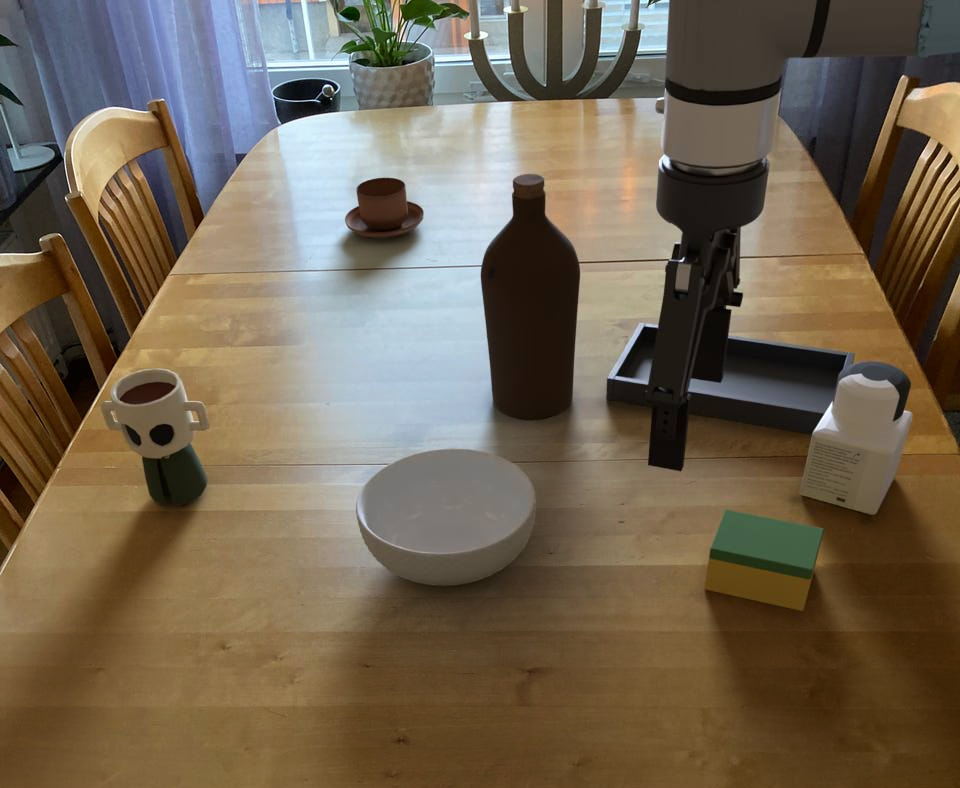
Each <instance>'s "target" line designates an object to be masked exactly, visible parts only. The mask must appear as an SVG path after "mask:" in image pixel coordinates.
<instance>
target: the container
mask: <svg viewBox="0 0 960 788" xmlns="http://www.w3.org/2000/svg"><path fill="white" fill-rule="evenodd" d="M911 388H912V382H911V380H910V377H909V376H908V375H907V373H906V372H905V371H903V370H902V369H901V368H899V367H898V366H895V365H893V364H889V363H886V362H881V361H875V360H873V361H872V360H871V361H869V360H865V361H864V360H863V361H858V362H853V364H851V365H849V366H847V367H846V368H844V369H843V370H842V371H841V372H840V373H839V376H838V380H837V384H836V389H835V393H834V397H833V401H832V403H831V404H830V406H829V408H828V409H827V411H826V412H825V414H824V416H823V417H822V419H821V420H820V422H819V424H818V425H817V427H816V428H815V430H814V432H813V434H811V437H810V438H811V439H810V443H809V448H808V453H807V458H806V462H805V466H804V470H803V475H802V480H801V484H800V489H799V494H800V495H801V496H803V497H805V498H809V499H813V500H817V501H821V502H825V503H828V504H831V505H834V506H839V507H843V508H846V509H849V510H852V511H856V512H859V513H863V514H867V515H870V516H874V515H876V514H877V513H878V511H879V509H880V508H881V505H882V503H883V501H884V499H885V497H886V495H887V493H888V491H889V490H890V487H891V485H892V483H893V481H894V480H895V477H896V475H897V472H898V469H899V467H900V466H899V465H900V462H901V459H902V456H903V452H904V449H905V445H906V442H907V439H908V435H909V432H910V428H911V425H912V421H913V419H914V413H912V412H911V411H908V410H905V408H906V405H907V401H908V398H909V394H910V391H911Z"/></svg>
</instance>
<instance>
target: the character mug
mask: <svg viewBox="0 0 960 788" xmlns="http://www.w3.org/2000/svg"><path fill="white" fill-rule="evenodd" d="M109 397H110V400H106V401H102V402H99V403H100V411H101V414H102V416H103V417H102V418H103V419H104V422H105V425H106V427H107V428H108V429H109V430H110V431H119V432H120V431H121V434H122V436H123V439H124V442H125V443H126V444H127V446H128V447H129V449H130V450H131V451H133V452H135V453H136V454H137V455H139V456H141V461H142V468H143V472H144V479H145V483H146V487H147V490H148V495H149V497H150V498H151V499H152V501H153V502H154V503H157V504H159V505H161V506H167V503H166V497H167V498H171V499H172V502H173V505H174V506H180V505H181V506H182V505H184V504H188V503H192V502H193V501H194V500H196V499H198V498H199V497H201V496H202V494H203V493H204V491H205V490H206V488H207V485H208V476H207V473H206V472H205V470H204V466H203V465H202V463H201V461H200V459H199V456H198V455H197V453H196V451H195V449H194V446H193V445H192V441H193V440H194V437H195V434H196V432H205V431H207V430H210V427H211V426H210V425H211V424H210V421H209V417H208V414H207V411H206V407H205V404H204V403H203V402H202V401H199V400H188V395H187V393H186V389H185V387H184V384H183V381H182V379H181V378H180V376H179V374H178V373H177V372H174V371H172V370H170V369H168V368H167V369H166V368H159V367H157V368H146V369H145V368H144V369H141V370H137V371H134V372H131V373H128V374H127V375H125V376H123V377H121V378H120V379H118V380H117V381H116V382H115V383H114V384H113V385H112V386H111V388H110V392H109ZM113 412H114V413H115V417H116V419H115V417H114V413H113ZM192 412H195V413H196V415H197V419H198V420H194V416H193V413H192Z"/></svg>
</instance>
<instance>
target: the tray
mask: <svg viewBox="0 0 960 788" xmlns="http://www.w3.org/2000/svg"><path fill="white" fill-rule="evenodd" d="M657 330H658V324H655V323H648V322H647V323H646V322H642V321H641V322H639V324H638V325H637V327H636V328H635V330H634V331H633V333H632V335H631V337H630V339H629V340H628V342H627V344H626V345H625V347H624V349H623V350H622V352H621V354H620V355H619V357H618V359H617V360H616V362H615V364H614V366H613V368H612V369H611V371H610V373H608V376H607V377H606V395H605V400H607V401H614V402H620V403H626V404H631V405H637V406H644V407H648V408H652V404H647V403H646V402H645V397H642V387H645V388H647V387H648V381H649V376H650V370H651V364H652V358H653V353H654V347H655V341H656V335H657ZM855 356H856V353H855V352H849V351H843V350H842V351H841V350H834V349H829V348H828V349H827V348H821V347H814V346H808V345H800V344H793V343H785V342H778V341H772V340H767V339H766V340H765V339H758V338H752V337H744V336H737V335H731V334H728V342H727V350H726V358H725V365H724V373H723V379H722V382H721V383H717V382H711V381H704V380H698V379H692V378H691V380H690V385H689V389H688V392H689V394H691V401H690V410H689V415H695V416H696V415H697V416H701V417H708V418H714V419H720V420H726V421H731V422H737V423H744V424H749V425H755V426H761V427H765V428H766V427H767V428H773V429H779V430H785V431H789V432H795V433H803V434H807V435H812V434H813V432H814V430H815V428H816V427H817V425H818V424H819V422H820V420H821V419H822V417H823V416H824V414H825V412H826V411H827V409H828V408H829V406H830V404H831V403H832V401H833V397H834V393H835V389H836V384H837V380H838V376H839V373H840V372H841V371H842V370H843V369H844V368H846V367H847V366H849V365H851V364H854V361H855Z"/></svg>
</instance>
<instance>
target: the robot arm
mask: <svg viewBox="0 0 960 788" xmlns="http://www.w3.org/2000/svg"><path fill="white" fill-rule="evenodd" d="M666 34H667V35H666V51H665V53H666V54H665V69H664V71H665V72H664V73H665V75H664V93H663V97H659V98H657V99H656V102H655V104H654V110H655V112H656V113H657V114H659V115H663V121H662V123H661V136H660V149H661V152H662V153H663V156H662V157H661V158H660V159H659V161H658V168H657V169H658V170H657V185H656V199H655V203H656V204H655V207H656V211H657V213H658V215H659V216H660V218H662V219H663V220H664V221H665V222H667V223H668V224H672V225H673V226H675V227H677V228H678V229H679V230H680V231H681V239H680V242H677V241H675V243H674V245H673V248H672V251H671V252H672V253H671V257H670V259H668V261H667V264H666V265H665V268H664V272H665V274H664V275H665V277H664V286H663V295H662V301H661V307H660V313H659V319H658V324H657V325H658V330H657V335H656V341H655V347H654V353H653V358H652V364H651V370H650V376H649V381H648V387H647V388H645V387H642V397H645V402H646V403H647V404H652V407H651V416H650V431H649V445H648V457H647V459H648V460H647V466H650V467H656V468H660V469H664V470H665V469H666V470H672V471H676V472H677V471H678V472H682V471H683V469H684V467H685V459H686V458H685V456H686V448H687V439H688V429H689V418H690V413H689V410H690V401H691V394H689V392H688V389H689V385H690V380H691V378H692V379H698V380H704V381H711V382H717V383H721V382H722V379H723V373H724V365H725V358H726V350H727V342H728V335H730V334H729V333H730V327H731V318H732V309H730V308H727V307H733V308H734V307H735V308H741V306H742V303H743V297H744V292H741V291H735V290H737V289H738V287H739V285H740V284H741V278H740V276H741V274H740V273H741V268H740V267H741V235H742V234H741V231H742V228H743V227H745V226H747V225H749V224H751V223H752V222H754V221H756V220H757V219H758V218H759V216H760V215H761V214H762V212H763V210H764V207H765V200H766V196H767V195H766V194H767V187H768V181H769V172H770V164H771V163H770V160H769V158H768V157H767V156H768V155H769V154H771V152H772V151H773V149H774V144H775V139H776V138H775V137H776V130H777V125H778V124H777V123H778V117H779V109H780V101H781V94H782V80H783V72H784V67H785V63H786V60H787V59H797V58H800V59H813V58H861V57H862V58H864V57H866V58H869V57H870V58H871V57H872V58H873V57H919V59H926V58H928V57H929V56H938V55H947V54H955V53H960V0H668V17H667V33H666Z"/></svg>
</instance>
